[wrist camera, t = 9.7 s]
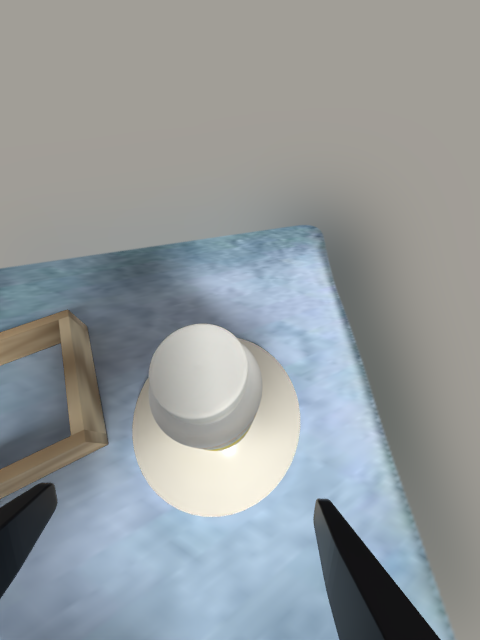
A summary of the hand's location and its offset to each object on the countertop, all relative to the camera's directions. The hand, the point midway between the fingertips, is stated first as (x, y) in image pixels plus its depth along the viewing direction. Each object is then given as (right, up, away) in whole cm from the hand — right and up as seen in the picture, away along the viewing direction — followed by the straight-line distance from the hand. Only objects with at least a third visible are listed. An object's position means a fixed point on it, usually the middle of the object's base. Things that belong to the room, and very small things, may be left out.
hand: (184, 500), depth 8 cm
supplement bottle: (0, -1, +10) cm, 10 cm away
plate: (0, -1, +11) cm, 11 cm away
